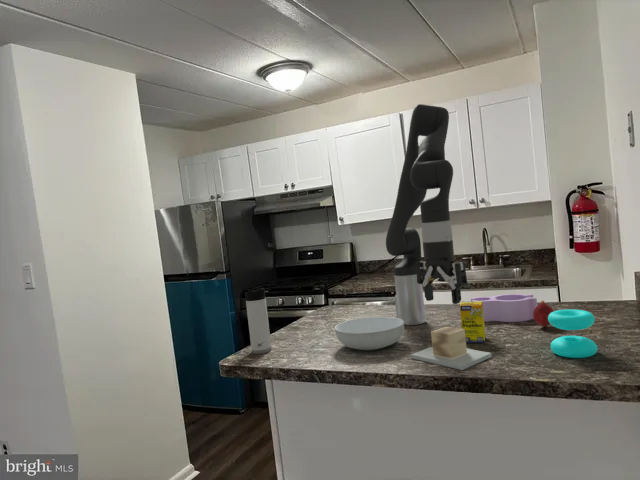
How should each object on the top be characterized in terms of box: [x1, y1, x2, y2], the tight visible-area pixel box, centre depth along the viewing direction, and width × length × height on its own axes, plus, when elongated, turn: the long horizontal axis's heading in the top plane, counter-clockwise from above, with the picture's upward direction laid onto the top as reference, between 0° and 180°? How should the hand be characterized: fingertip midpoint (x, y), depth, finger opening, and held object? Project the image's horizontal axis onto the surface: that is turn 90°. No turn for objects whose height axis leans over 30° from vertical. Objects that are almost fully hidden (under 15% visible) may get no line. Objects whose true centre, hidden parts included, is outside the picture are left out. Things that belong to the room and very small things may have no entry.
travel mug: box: [244, 287, 272, 355], centre depth 143 cm, size 6×7×20 cm
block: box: [430, 326, 468, 358], centre depth 117 cm, size 6×6×6 cm
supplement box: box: [459, 300, 486, 344], centre depth 129 cm, size 6×6×11 cm
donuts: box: [548, 309, 598, 359], centre depth 110 cm, size 10×10×10 cm
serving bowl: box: [334, 316, 405, 351], centre depth 135 cm, size 21×21×7 cm
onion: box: [533, 300, 554, 328], centre depth 135 cm, size 6×6×8 cm
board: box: [410, 346, 493, 371], centre depth 117 cm, size 16×12×1 cm
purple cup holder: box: [470, 293, 538, 323], centre depth 151 cm, size 20×12×7 cm, turn 74°
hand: (442, 301), depth 116 cm, fingers open, 8 cm apart
